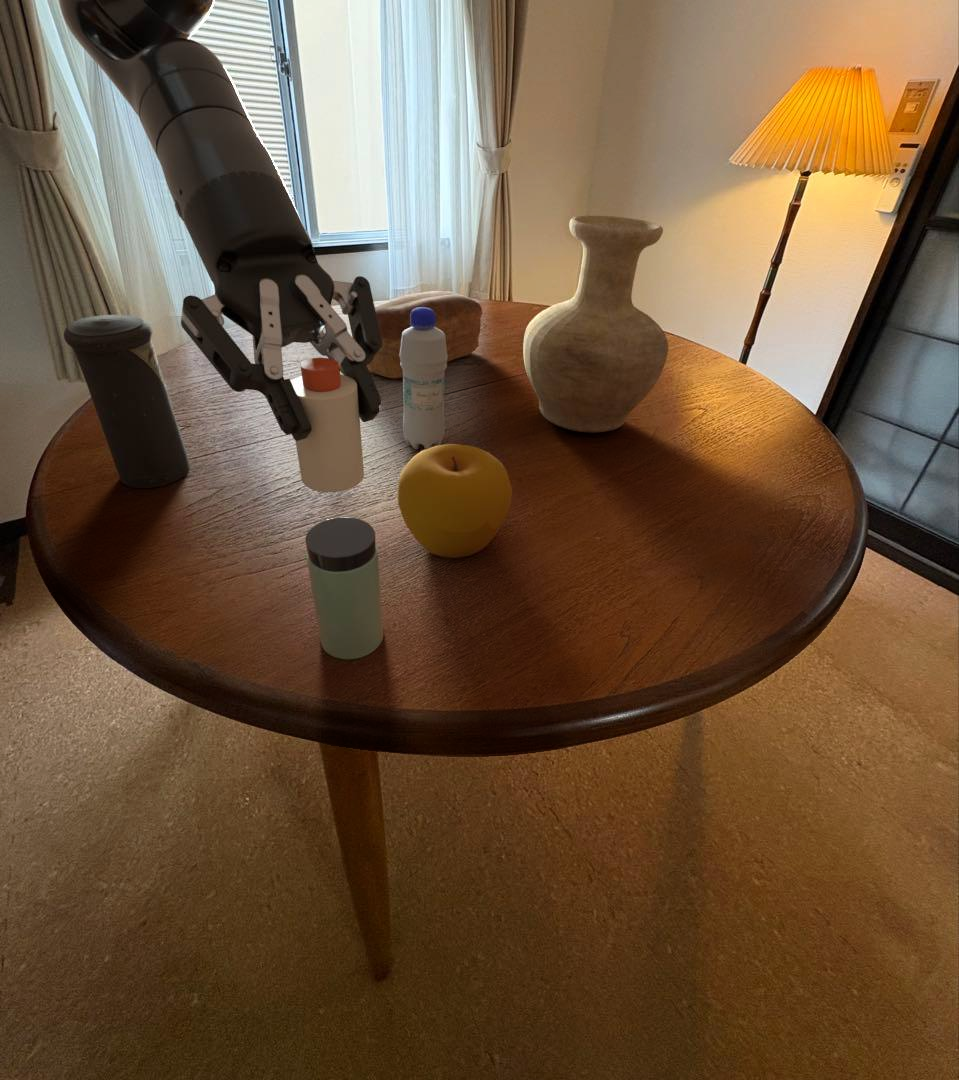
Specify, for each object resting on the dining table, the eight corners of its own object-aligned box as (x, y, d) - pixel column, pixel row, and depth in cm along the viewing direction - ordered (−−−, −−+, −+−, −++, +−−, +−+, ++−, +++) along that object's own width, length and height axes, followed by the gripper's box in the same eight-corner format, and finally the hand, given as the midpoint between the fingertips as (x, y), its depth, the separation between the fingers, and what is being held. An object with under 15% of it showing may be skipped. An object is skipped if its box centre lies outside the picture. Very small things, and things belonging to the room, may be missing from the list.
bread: (489, 353, 121) (493, 293, 114) (395, 388, 103) (392, 319, 96) (441, 338, 128) (442, 280, 120) (345, 368, 109) (339, 302, 102)
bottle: (406, 455, 83) (402, 315, 71) (399, 435, 88) (394, 301, 76) (450, 452, 85) (453, 314, 73) (440, 432, 90) (442, 300, 78)
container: (206, 469, 77) (164, 318, 65) (144, 498, 70) (85, 337, 58) (166, 451, 80) (120, 304, 68) (104, 477, 74) (41, 320, 62)
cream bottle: (302, 495, 42) (283, 378, 36) (301, 463, 45) (283, 353, 40) (367, 489, 43) (358, 375, 37) (361, 459, 47) (352, 351, 41)
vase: (517, 447, 87) (540, 229, 69) (514, 391, 105) (532, 206, 87) (661, 456, 87) (722, 241, 69) (633, 399, 105) (676, 216, 87)
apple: (386, 521, 69) (381, 437, 62) (481, 502, 74) (486, 423, 67) (420, 586, 60) (419, 497, 53) (526, 560, 65) (538, 475, 58)
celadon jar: (321, 664, 51) (304, 562, 44) (319, 618, 56) (302, 519, 48) (387, 653, 52) (381, 553, 45) (379, 609, 57) (372, 512, 50)
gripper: (124, 165, 33) (250, 431, 33) (342, 167, 40) (442, 381, 41) (127, 250, 39) (232, 472, 39) (315, 237, 47) (402, 422, 47)
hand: (339, 425), depth 40 cm, fingers closed on cream bottle, 4 cm apart
